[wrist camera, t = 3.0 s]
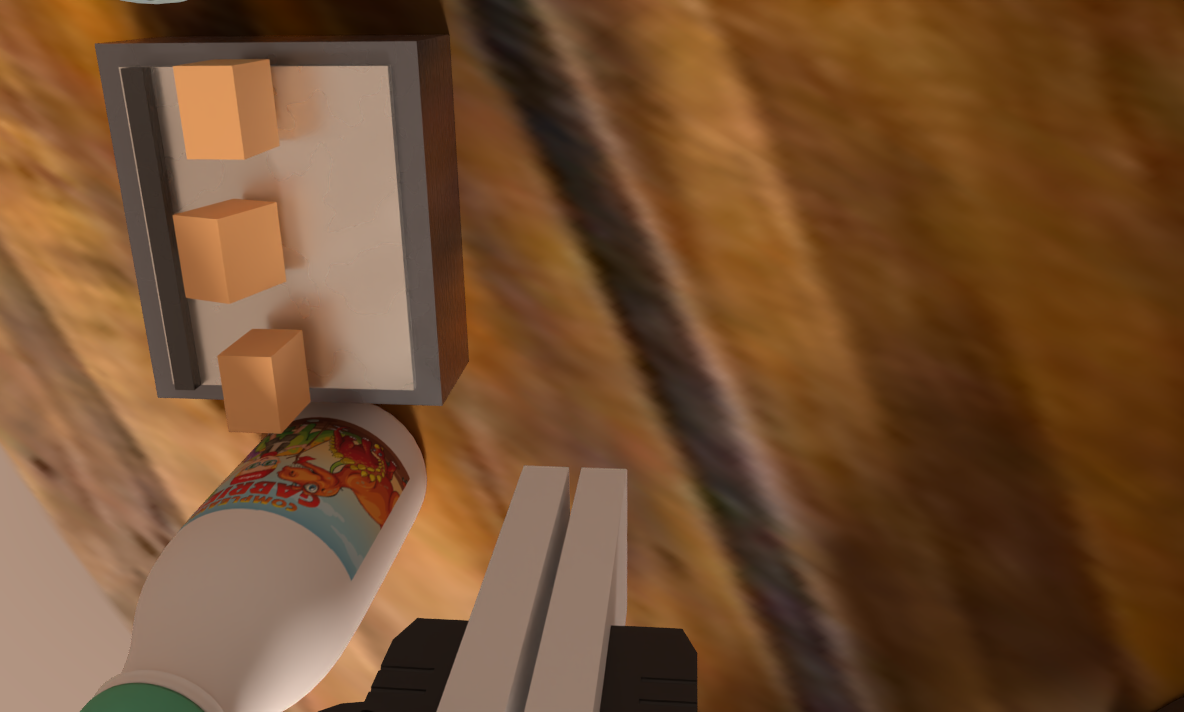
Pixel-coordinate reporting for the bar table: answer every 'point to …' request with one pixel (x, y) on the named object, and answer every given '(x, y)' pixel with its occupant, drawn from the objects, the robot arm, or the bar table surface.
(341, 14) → the bar table surface
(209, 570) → the milk bottle
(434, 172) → the gray rectangular tray
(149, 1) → the gray green pot
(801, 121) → the bar table surface
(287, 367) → the tan wooden block
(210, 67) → the orange tall rectangular block
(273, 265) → the small orange block
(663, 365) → the bar table surface
